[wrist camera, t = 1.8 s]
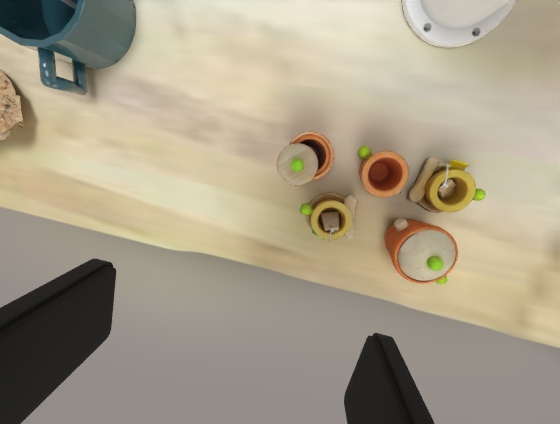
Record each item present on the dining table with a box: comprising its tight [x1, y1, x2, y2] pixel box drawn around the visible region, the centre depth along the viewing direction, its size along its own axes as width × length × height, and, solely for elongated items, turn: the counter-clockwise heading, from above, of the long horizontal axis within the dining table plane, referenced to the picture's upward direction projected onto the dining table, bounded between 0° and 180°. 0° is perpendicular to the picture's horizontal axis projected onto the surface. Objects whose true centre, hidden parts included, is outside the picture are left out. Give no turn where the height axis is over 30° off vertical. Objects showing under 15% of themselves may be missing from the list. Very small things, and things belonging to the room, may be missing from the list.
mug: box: [0, 0, 136, 95], centre depth 30 cm, size 17×13×8 cm
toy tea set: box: [277, 132, 485, 284], centre depth 32 cm, size 26×16×10 cm, turn 75°
